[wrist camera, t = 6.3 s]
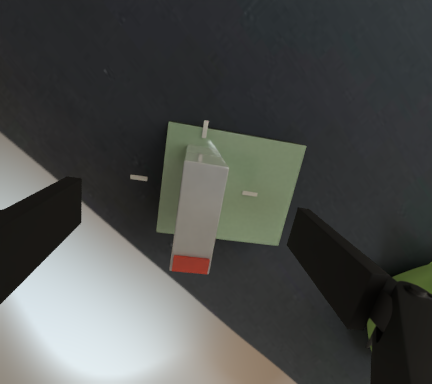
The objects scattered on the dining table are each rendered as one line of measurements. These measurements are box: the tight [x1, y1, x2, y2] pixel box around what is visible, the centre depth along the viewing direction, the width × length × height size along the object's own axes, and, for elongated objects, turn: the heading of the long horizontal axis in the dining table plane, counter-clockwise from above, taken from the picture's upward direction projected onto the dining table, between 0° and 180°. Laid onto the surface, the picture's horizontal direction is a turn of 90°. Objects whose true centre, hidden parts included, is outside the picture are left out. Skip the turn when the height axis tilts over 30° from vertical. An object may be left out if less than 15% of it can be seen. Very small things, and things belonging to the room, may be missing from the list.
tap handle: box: [169, 144, 229, 274], centre depth 17 cm, size 7×2×8 cm, turn 170°
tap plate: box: [130, 120, 306, 246], centre depth 23 cm, size 15×11×3 cm
